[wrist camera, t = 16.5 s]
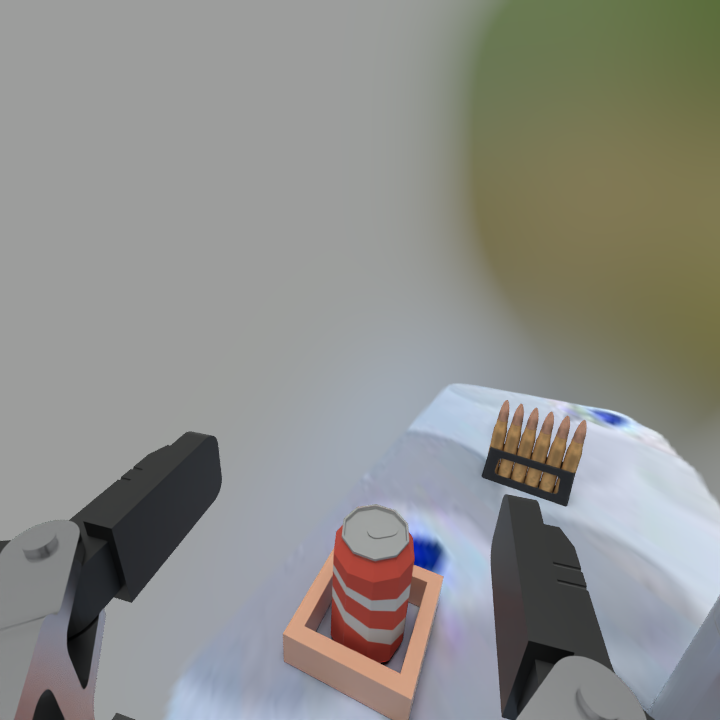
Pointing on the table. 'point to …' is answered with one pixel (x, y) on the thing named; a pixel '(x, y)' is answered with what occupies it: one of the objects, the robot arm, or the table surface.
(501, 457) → the ammunition clip
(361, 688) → the terracotta collar
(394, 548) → the beverage can
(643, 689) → the table surface
